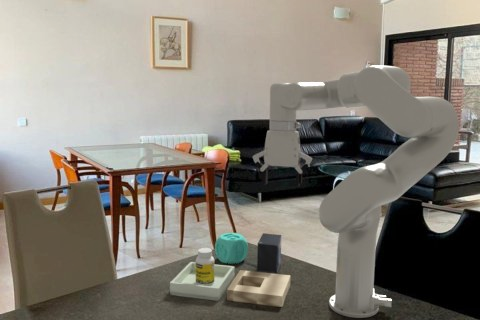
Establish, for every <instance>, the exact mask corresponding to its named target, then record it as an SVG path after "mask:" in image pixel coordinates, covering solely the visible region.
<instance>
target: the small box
mask: <svg viewBox="0 0 480 320" xmlns="http://www.w3.org/2000/svg"><path fill="white" fill-rule="evenodd" d="M256 250H257V253H256V256H257V257H256V272H263V273H272V274H279V271H280V268H281V264H282V263H281V262H282V235H281V234H274V233H265V232H263V233H262V234H261V236H260V238H259V240H258V242H257V249H256Z"/></svg>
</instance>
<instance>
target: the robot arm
mask: <svg viewBox="0 0 480 320" xmlns="http://www.w3.org/2000/svg"><path fill="white" fill-rule="evenodd" d="M411 84H412V81H411V78H410V75H409V74H408V73H407V72H406V70H404V69H403V68H401V67H398V66H394V65H393V66H392V65H379V64H378V65H375V64H374V65H370V66H367V67H364V68H363V69H361V70H359V71H353V72H346V73H343V74H342V75H341V76H340V77H339V79H336V80H330V81H329V80H328V81H319V82H315V81H310V82H307V81H305V82H303V81H302V82H301V81H300V82H299V81H298V82H291V83H290V82H276V83H275V82H274V83H272V84H271V85H270V87H269V89H270V90H269V130H267V132H266V137H265V142H264V150H262V151H260V152H258V153H255V154H254V155H252V159H253V162H254V163H255V166H256V167H257V168H258V169H259V170H260V172H261V174H260V175H261V179H260V180H261V182H262V185H263V186H266V185H267V184H268V181H269V180H268V179H269V177H268V174H269V171H268V169H267V168H268V167H269V166H272V167H287V168H288V167H290V168H291V167H293V168H294V169H295V171H297V172H296V174H295V175H296V176H295V187H296V188H299V187H300V186H301V185H302V184H303V173H304V172H305V171H306V169H308V168H309V166H310V165H311V163H312V160H313V157H312V156H309V155H308V154H306V153H304V152H302V151H301V139H300V133H299V131H298V130H297V129H301V127H302V123H301V122H298V121H297V111H308V110H309V111H310V110H311V111H312V110H315V111H316V110H327V109H334V108H357V107H365V108H366V109H368V110H369V111H370V112H371V113H372V114H373V115H374V116H376V117H377V118H378V119H379V120H380V121H381V122H382V123H384V125H385V126H387V127H388V128H389V129H390V130H391V131H392V132H394V133H395V134H397V135H399V136H401V137H404V138H409V139H408V140H406V141H405V142H404V143H402V144H401V145H399V146H398V147H397V149H395V150H394V152H392V153H391V154H390V155H388V157H387V158H385V159H384V160H382V161H380V162H378V163H375V164H370V165H365V166H362V167H359V168H356V169H355V170H354V171H352V172H350V173H349V174H348V175H347V176H345V178H343V180H342V181H341V182H339V183H338V184H337V185H336V186H335V187H334V188H333V189H332V190H331V191H330V192H329V193H328V194H327V195H325V197H324V198H323V199H322V200H321V203H320V204H319V207H318V208H319V209H318V218H319V221H320V223H321V225H322V226H323V227H324V229H325V230H327V231H329V232H332V233H334V234H338V237H337V248H336V271H335V272H336V273H335V292H334V293H335V294H334V295H331V297H329V300H328V301H329V302H328V306H329V308H330V309H331V310H332V311H334V312H335V313H337V314H339V315H341V316H344V317H347V318H356V319H363V318H370V317H373V316H375V315H377V313H378V312H379V307H380V306H382V307H387V308H388V307H389V308H392V305H393V304H392V303H393V300H392V298H387V294H386V295H383V294H378V293H375V288H374V285H375V284H374V283H375V267H376V250H377V249H376V247H377V236H378V230H379V224H380V220H381V217H382V216H381V215H382V206H384V205H387V204H390V203H392V202H395V201H396V200H398V199H400V197H402V196H403V195H404V194H405V193H406V192H408V190H409V189H411V187H414V185H416V184H417V183H418V182H419V181H420V180H422V179H423V177H425V176H426V175H427V174H428V173H430V172H431V171H432V170H433V169H434V168H436V167H437V165H439V164H440V163H441V162H442V161H444V159H445V158H446V157H447V156H448V155H449V153H450V152H451V151H452V149H453V148H454V146H455V145H456V142H457V139H458V136H459V130H460V122H459V115H458V112H457V111H456V108H455V107H454V106H453V104H452V103H451V102H450V101H448V100H447V99H445V98H442V97H438V96H414V95H413V94H412V93H410V90H411V87H412V85H411ZM261 157H263V160H264V161H263V162H264V163H263V162H261V160H260V158H261ZM301 159H303V160H305V163H304V164H303V165H302V166H301V164H300V162H301Z"/></svg>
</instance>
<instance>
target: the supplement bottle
mask: <svg viewBox="0 0 480 320" xmlns="http://www.w3.org/2000/svg"><path fill="white" fill-rule="evenodd" d="M197 255H198V256H197V257H196V259H195V262H196V283H197V284H198V285H204V286H209V285H212V284H213V283H214V264H215V257H214V256H213V250H212V249H211V248H210V247H202V248H201V247H200V248H199V249H198V250H197Z"/></svg>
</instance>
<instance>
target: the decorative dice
mask: <svg viewBox="0 0 480 320" xmlns="http://www.w3.org/2000/svg"><path fill="white" fill-rule="evenodd" d="M248 244H249V243H248V241H247V239H246V238H245V237H244V235H242V234H241V233H238V232H226V233H222V234H220V235H219V236H218V237H217V239H216V241H215V244H214V252H215V256H216V257H217V259H218V260H219V261H220V263H223V264H227V263H228V265H229V264H230V265H234V264H235V263H236V264H239V263H240V264H241V263H242V262H243V261H244V260H245V259H246V257H247V255H248V252H249V246H248Z"/></svg>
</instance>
